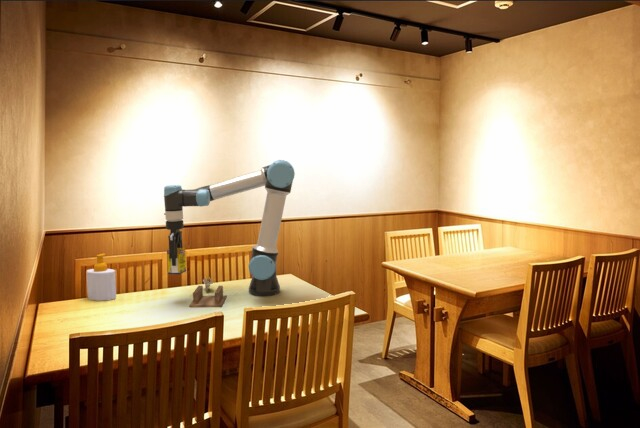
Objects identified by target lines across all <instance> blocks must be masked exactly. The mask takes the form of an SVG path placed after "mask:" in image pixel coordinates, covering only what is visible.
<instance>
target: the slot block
mask: <svg viewBox="0 0 640 428" xmlns="http://www.w3.org/2000/svg"><path fill="white" fill-rule="evenodd" d="M213 293H214V294H213V295H204V289H203V285H197V287H196V288H195V290H194V291H193V292H192V301H191V302H190V304H189V308H222V307H223V305H224V304H225V301H226V299H227V298H228V297H227V295H226V294H224V286H223V285H218V286H217V288H216V289H215V291H214V292H213Z"/></svg>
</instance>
